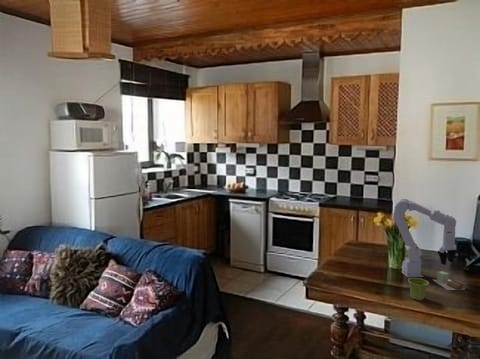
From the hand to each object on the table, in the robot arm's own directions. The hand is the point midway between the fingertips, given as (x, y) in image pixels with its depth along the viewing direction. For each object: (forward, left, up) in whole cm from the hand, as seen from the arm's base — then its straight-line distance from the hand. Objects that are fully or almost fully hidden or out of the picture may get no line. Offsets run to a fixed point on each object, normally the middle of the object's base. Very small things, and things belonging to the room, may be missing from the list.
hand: (446, 262), depth 218 cm
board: (-2, -6, -10) cm, 12 cm away
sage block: (-3, -2, -10) cm, 10 cm away
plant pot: (-27, -20, -11) cm, 36 cm away
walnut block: (0, -10, -10) cm, 14 cm away
